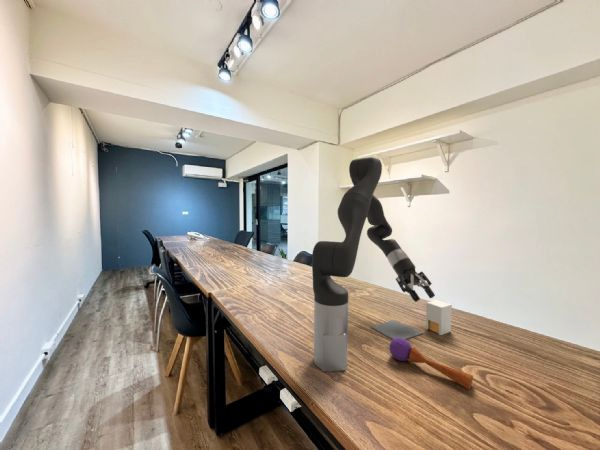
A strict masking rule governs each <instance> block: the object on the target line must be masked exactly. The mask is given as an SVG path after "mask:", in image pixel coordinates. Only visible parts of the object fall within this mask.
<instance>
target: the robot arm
mask: <svg viewBox="0 0 600 450" xmlns="http://www.w3.org/2000/svg"><path fill="white" fill-rule="evenodd" d="M348 168H349V169H348V172H349V178H350V180H351V182H352V185H353V186H352V187H351V188H349V189H348V190H346V192H345V193H344V195H342V198H341V200H340V203H339V205H338V208H337V216H338V217H337V218H338V220H339V222H340V224H341V226H342V228H343V230H344V232H345V233H344V234H345V237H344V240H343V241H329V240H328V241H326V240H320V241H317V242H316V243H315V245H314V247H313V248H312V249H313V250H312V253H311V267H312V268H311V272H312V290H313V296H314V303H313V306H314V307H313V308H314V309H313V310H314V311H313V362H314V364H315V366H316V367H318V368H319V369H321V371H322V372H323V373H324V372H338V371H339V372H340V371H346V370H347V366H348V358H349V357H348V356H349V355H348V353H349V351H348V346H349V345H348V344H349V341H348V340H349V339H348V338H349V337H348V336H349V332H348V331H349V292H348V290H347V289H346V288H345V287H343V286H341V285H340V284H338V283H337V282H336V281H334V280H333V278H332V277H337V278H348V277H349V276H350V275H351V274H352V273H353V270H354V267H355V264H356V260H357V255H358V250H359V245H360V240H361V237H362V232H363V228H364V225H365V223H366V219H367V222H368V224H370V227H369V228H368V229H367V230H366V235H367V238H368V239H369V240H370V241H371V242H372V243H373V244H374V245H375V246H377V248H379V249H380V251H382V253H383V254H384V256H385V257H386V259H387V261H388V263H389V264H390V267H392V269H393V270H394V272H395V274H396V276H397V277H396V278H395V281H396V283H397V284H398V286H399V288H400V289H401V291H402V292H403V293H407V294H409V296H410V297H411V299H412V300H413V302H415V303H417V302H420V300H421V298H420V296H419V295H418V293H417V292H416V290H415V289H414V286H417V287H420V288H421V289H423V290H424V292H425V293H426V295H427V296H428V297H429V299H433V298H434V297H435V296H436V295H435V292H434V291H433V290H432V288H431V287H430V286H431V285H432V282H431V280H429V278H428V276H427V275H426V274H425V273H424V272H423V271H420V272H417V271H416V265H415V264H414V263H413V261H412V260H411V259H410V257H409V256H408V254H407V253H406V252H405V250H403V249H402V247H401V245H400V244H399V243H398V242H397V241H396V239H393V238H390V239H387V238H389V237H391V235H392V233H393V228H392V225H390V224H389V221H388V220H387V218H386V216H385V211H384V208H383V205H382V203H381V201H380V200H379V199H378V197H376V195H374V193H375V191H376V189H377V186H378V184H379V182H380V179H381V177H382V171H383V165H382V161H381V159H380V158H379V157H377V156H366V157H361V158H355V159H352V160H350V163H349V167H348Z"/></svg>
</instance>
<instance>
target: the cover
mask: <svg viewBox="0 0 600 450" xmlns="http://www.w3.org/2000/svg"><path fill="white" fill-rule="evenodd" d="M452 307H453V306H452V304H450V303H447V302H444V301H442V300H438V299H435V300H431V301H427V302H426V307H425V310H426V311H425V329H426V330H429V323H430V321H433V322H435V323H438V324H439V333H438V335H439V336H443V335H446V334H448V333H451V331H452V310H453V309H452Z"/></svg>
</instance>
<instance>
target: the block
mask: <svg viewBox="0 0 600 450" xmlns="http://www.w3.org/2000/svg"><path fill="white" fill-rule="evenodd" d="M428 330H430V331H433V332H434V333H437V334H439V324H438V323H435V322H433V321H430V323H429V328H428Z"/></svg>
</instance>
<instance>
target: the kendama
mask: <svg viewBox="0 0 600 450" xmlns="http://www.w3.org/2000/svg"><path fill="white" fill-rule="evenodd" d="M388 349H389V352H390V354H391V356H392V357H393V358H394V359H395V360H396V361H399V362H406V361H409V363H414V364H425V365H428V366H429V367H431V368H433V369H434V370H436V371H437V372H439V373H441V374H442V375H443V376H446V377H447V378H449V379H450V380H452V381H454V382H455V383H457V384H459V385H460V386H462V387H463V388H465V389H467V390H470V389H471V387H472V384H473V381H474V375H472V374H469V373H468V372H464V371H462V370H458V369H456V368H454V367H450V366H448V365H445V364H442V363H439V362H436V361H433V360H430V359H428V358H426V357H425V356H424V355H423V354H422V353H421V352H420V351H419V350H418V349H417V348H416V347H415V346H413V347H412V345H411V343H410V342H409V341H408V339H407V340H406V339H403V338H395V339H391V341H390V343H389V348H388Z"/></svg>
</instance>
